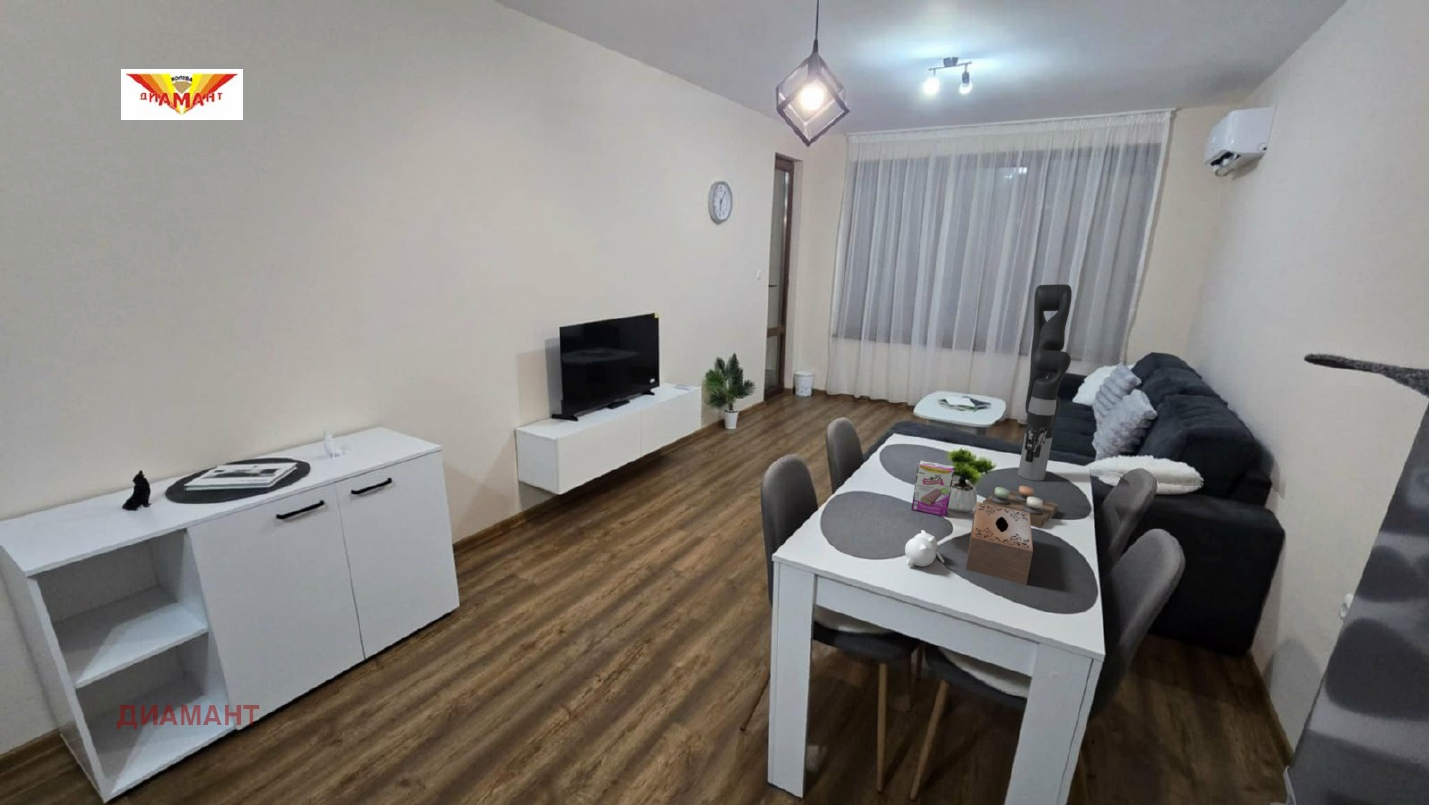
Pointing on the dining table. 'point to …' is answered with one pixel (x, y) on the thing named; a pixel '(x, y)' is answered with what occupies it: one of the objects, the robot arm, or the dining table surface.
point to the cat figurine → (922, 550)
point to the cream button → (1034, 502)
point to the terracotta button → (1026, 490)
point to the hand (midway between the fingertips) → (1032, 459)
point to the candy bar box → (933, 488)
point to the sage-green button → (1002, 492)
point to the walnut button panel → (1025, 507)
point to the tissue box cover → (1000, 543)
